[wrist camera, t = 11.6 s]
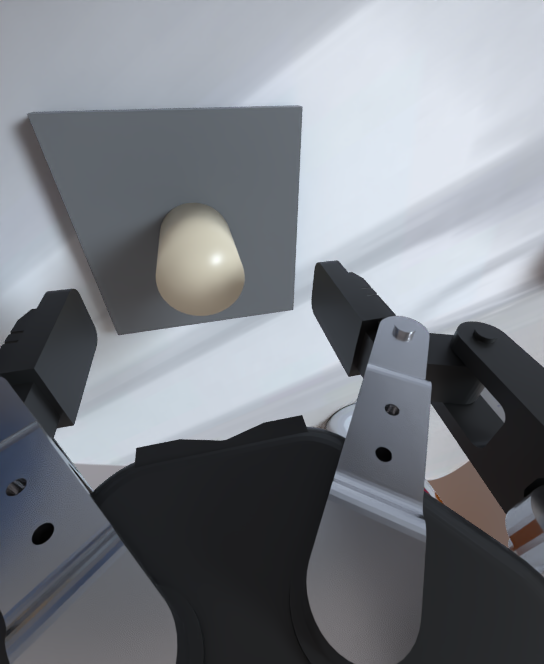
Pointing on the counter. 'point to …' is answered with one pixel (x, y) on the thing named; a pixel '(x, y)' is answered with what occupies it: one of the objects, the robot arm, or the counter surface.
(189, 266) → the lid
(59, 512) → the robot arm
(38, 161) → the counter surface
